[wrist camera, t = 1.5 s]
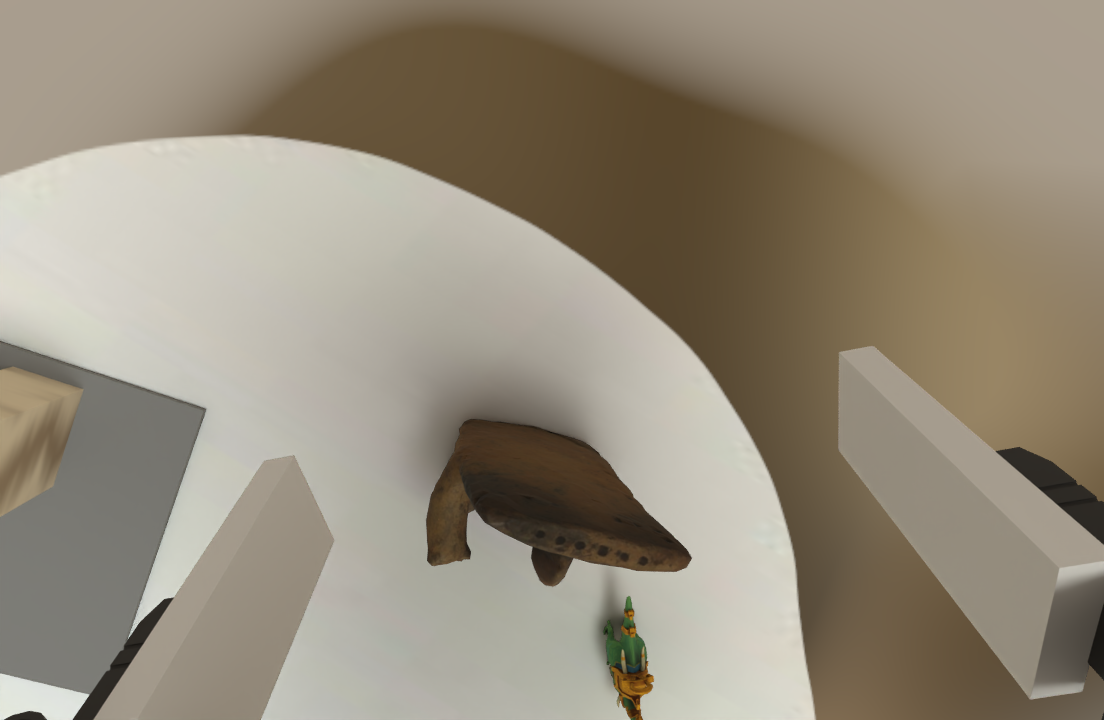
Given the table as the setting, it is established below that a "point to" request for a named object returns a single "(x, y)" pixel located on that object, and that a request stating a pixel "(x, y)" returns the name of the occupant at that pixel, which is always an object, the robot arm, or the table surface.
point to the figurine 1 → (544, 503)
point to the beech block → (32, 433)
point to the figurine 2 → (628, 664)
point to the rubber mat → (89, 528)
